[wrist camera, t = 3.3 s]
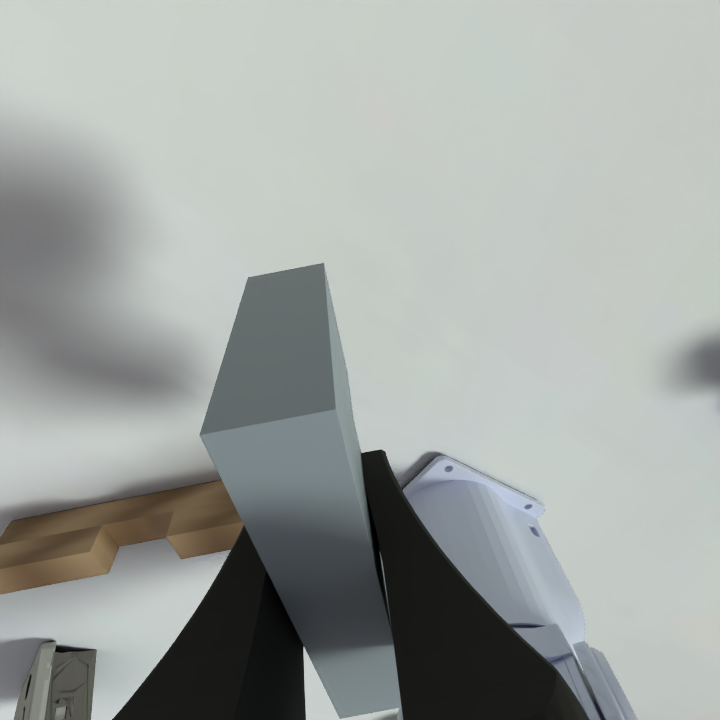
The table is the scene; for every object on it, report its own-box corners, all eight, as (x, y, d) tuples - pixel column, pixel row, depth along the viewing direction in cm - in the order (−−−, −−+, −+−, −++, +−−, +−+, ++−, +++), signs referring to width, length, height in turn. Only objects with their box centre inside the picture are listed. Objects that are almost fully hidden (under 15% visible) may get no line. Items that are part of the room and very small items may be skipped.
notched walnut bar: (283, 467, 25) (280, 514, 22) (292, 490, 26) (290, 537, 23) (11, 521, 25) (-25, 574, 22) (31, 541, 26) (0, 594, 23)
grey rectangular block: (380, 524, 17) (409, 705, 12) (330, 533, 17) (339, 719, 12) (323, 262, 11) (336, 409, 6) (247, 277, 11) (199, 434, 6)
